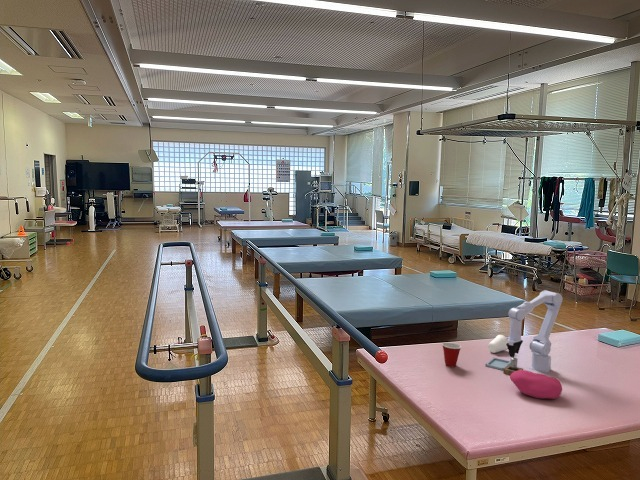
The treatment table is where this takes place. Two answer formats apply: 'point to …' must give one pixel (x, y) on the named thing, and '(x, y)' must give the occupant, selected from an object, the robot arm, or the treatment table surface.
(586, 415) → the treatment table surface
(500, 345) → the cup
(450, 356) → the plastic cup
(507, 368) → the socket block
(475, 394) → the treatment table surface
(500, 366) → the tray
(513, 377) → the cushion
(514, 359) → the dowel
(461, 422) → the treatment table surface
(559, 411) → the treatment table surface
